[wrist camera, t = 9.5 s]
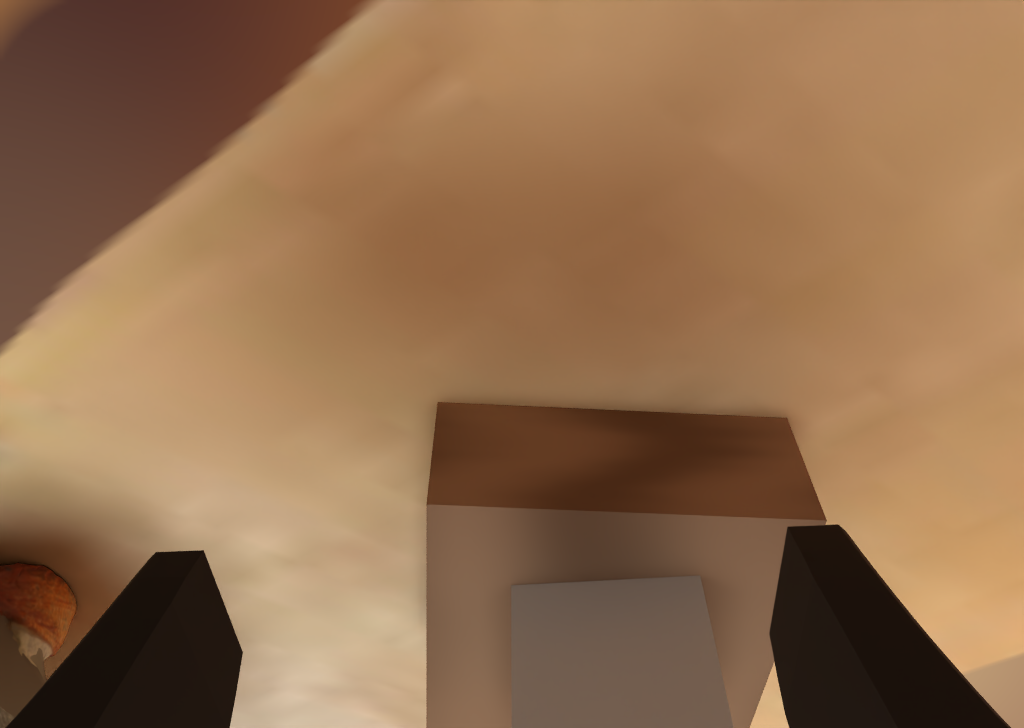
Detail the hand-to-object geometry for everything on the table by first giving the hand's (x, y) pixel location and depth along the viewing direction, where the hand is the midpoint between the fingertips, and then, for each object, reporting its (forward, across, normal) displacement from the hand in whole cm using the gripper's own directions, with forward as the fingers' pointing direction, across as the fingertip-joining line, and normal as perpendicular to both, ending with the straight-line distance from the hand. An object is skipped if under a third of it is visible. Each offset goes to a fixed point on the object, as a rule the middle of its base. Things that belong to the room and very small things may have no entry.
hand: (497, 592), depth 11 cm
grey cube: (+7, -2, +10) cm, 12 cm away
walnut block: (+11, -2, +10) cm, 15 cm away
